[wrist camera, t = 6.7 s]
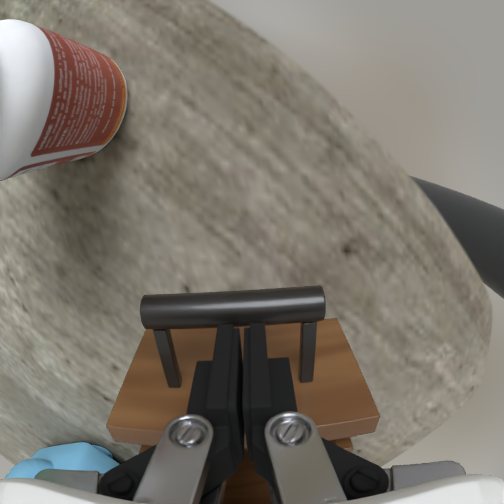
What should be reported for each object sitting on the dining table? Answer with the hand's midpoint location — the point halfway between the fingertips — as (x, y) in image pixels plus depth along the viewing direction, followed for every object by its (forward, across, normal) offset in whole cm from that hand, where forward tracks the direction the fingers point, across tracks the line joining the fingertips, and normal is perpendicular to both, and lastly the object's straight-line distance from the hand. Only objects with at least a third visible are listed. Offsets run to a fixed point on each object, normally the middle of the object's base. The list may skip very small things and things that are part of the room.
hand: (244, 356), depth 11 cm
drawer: (+6, 0, +7) cm, 9 cm away
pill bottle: (+7, +8, -10) cm, 15 cm away
